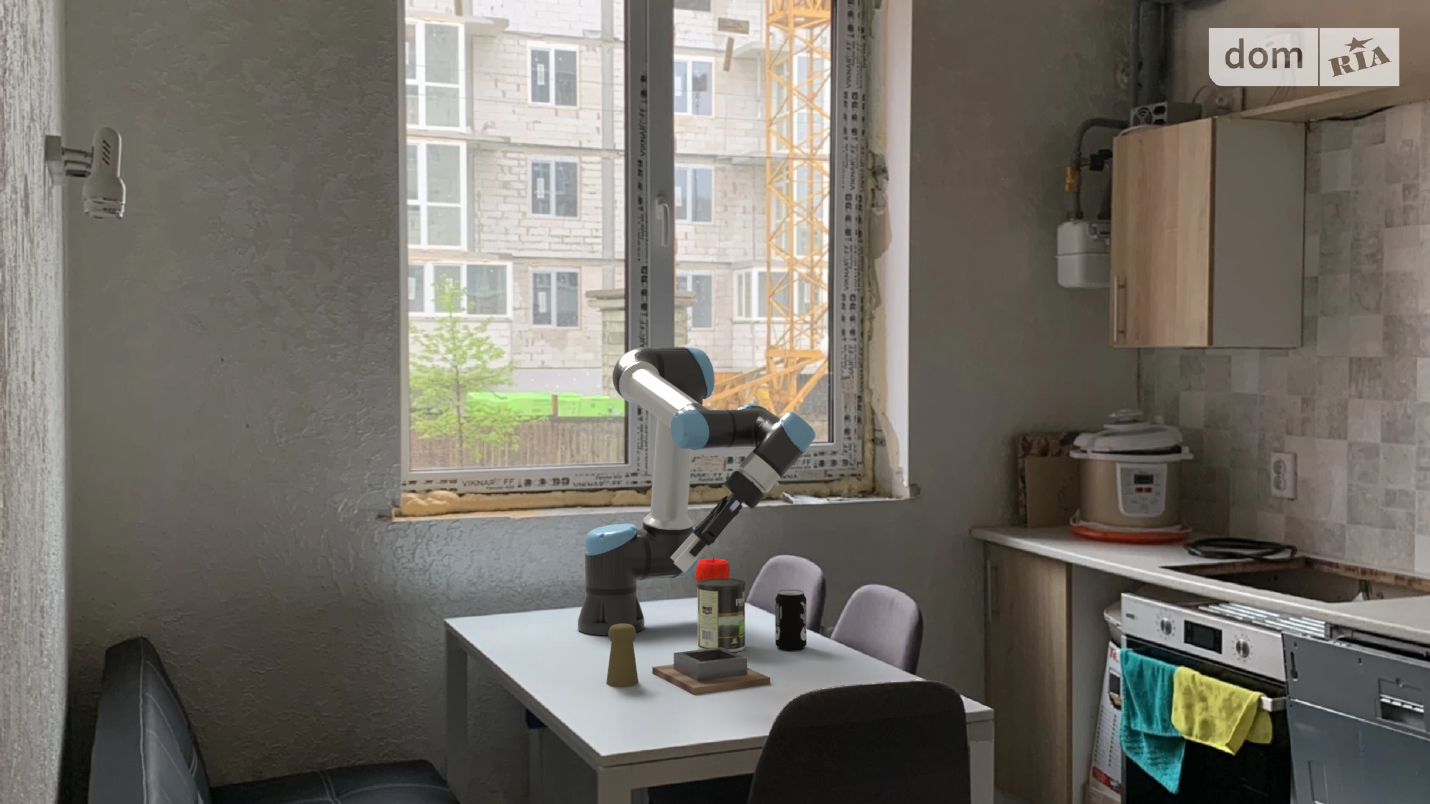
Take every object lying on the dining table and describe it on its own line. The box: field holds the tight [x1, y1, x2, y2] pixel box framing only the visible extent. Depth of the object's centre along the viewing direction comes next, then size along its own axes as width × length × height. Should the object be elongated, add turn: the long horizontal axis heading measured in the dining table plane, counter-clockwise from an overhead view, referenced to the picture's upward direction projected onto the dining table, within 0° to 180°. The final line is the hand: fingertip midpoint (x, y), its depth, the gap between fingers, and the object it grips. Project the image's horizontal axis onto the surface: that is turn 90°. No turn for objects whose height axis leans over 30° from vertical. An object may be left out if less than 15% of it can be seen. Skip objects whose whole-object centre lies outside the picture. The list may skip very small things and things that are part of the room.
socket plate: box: [651, 647, 771, 695], centre depth 232 cm, size 18×16×4 cm
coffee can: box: [696, 577, 746, 653], centre depth 258 cm, size 10×10×14 cm
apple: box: [694, 557, 731, 583], centre depth 313 cm, size 9×9×11 cm
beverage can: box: [774, 588, 808, 652], centre depth 258 cm, size 7×7×12 cm
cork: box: [606, 624, 639, 688], centre depth 229 cm, size 6×6×11 cm
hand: (677, 565), depth 231 cm, fingers open, 13 cm apart
